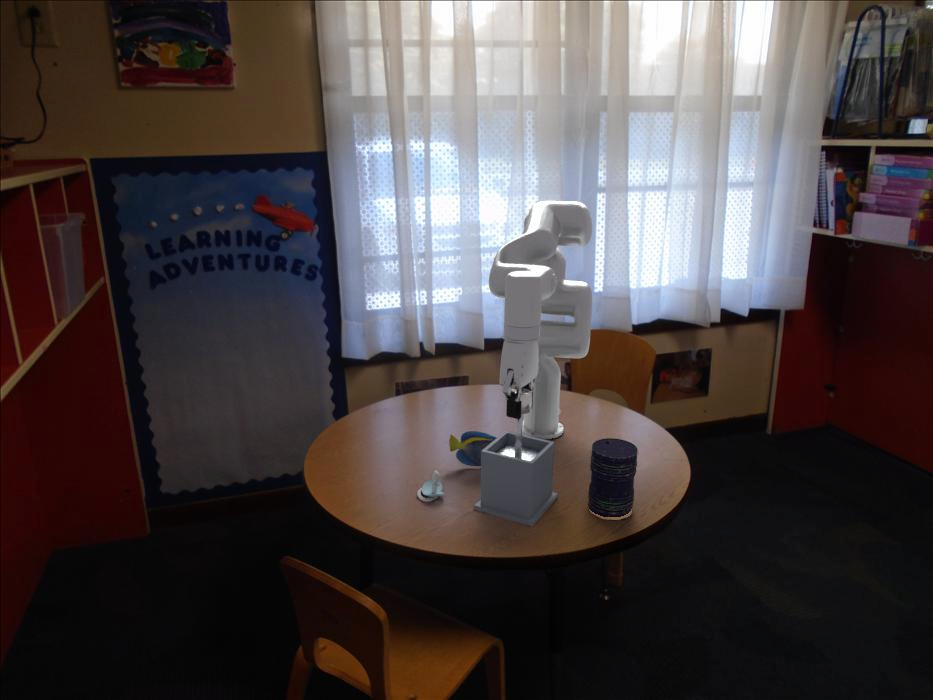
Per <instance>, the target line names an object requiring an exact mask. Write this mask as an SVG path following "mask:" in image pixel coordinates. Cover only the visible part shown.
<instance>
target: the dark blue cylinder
mask: <svg viewBox="0 0 933 700" xmlns="http://www.w3.org/2000/svg"><path fill="white" fill-rule="evenodd" d="M638 451H639V450H638V447H637V445H635V444H634V443H632V442H630V441H628V440H624V439H621V438H615V437H614V438H613V437H612V438H608V437H607V438H601V439H598V440H595V441H594V442H593V443H592V445H591V454H590V464H589V467H590V471H591V472H590V473H591V475H590V482H589V484H588V495H587V498H588V499H587V500H588V503H587V508H588V507H589V509H590V510H591V511H592V512H594V513H595V514H598V515H600V516H603V517H621V516H624V515H626V514H628V513H629V512H630V511H631V509H632V510H633V506H634V500H635V488H634V483H635V476H636V474H637V467H638V453H639V452H638Z"/></svg>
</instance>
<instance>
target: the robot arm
mask: <svg viewBox="0 0 933 700" xmlns="http://www.w3.org/2000/svg"><path fill="white" fill-rule="evenodd" d="M592 221H593V220H592V218H591V213H590V211H589V208H588V207H587V206H586V205H585V204H584V203H582V202H579V201H564V200H563V201H561V200H559V201H557V200H543V201H539V202H537V203H534V204H533V205H532V206H531V208H530V209H529V211H528V213H527V215H526V216H525V218H524V221H523V231H522V235H519V236H518V237H515V238H514V239H512V240H510V241H509V242H508V243H505V244H504V245H503V246H502V247H500V248H499V250H498V251H497V252H496V254H495V257H494V258H493V262H492V266H491V268H490V272H489V276H488V277H489V278H488V288H489V291H490V293H491V295H493V296H494V297H496V298H499V299H504V312H503V314H504V317H503V344H502V351H501V355H500V368H499V369H500V370H499V385H500V386H502V393H503V394H504V396H505V400H506V415H505V416H506V417H507V418H511V419H515V420H516V419H520V418H521V404H522V401H520V395H521V389H522V388H525V389H528V390H530V391H531V392H532V404H531V412H529V413H527V414H523V434H522V435H526V436H530V437H535V438H539V439H543V440H552V438H553V439H555V438H558V437H560V436H562V435H563V434H564V429H565V428H564V425H563V424H562V423H560V422H559V421H560V420H559V417H560V416H559V415H560V414H561V413H562V409H561V408H560V397H561V396H560V395H561V380H562V379H561V378H562V376H561V375H562V374H561V373H562V372H561V368H560V365H559V364H558V362H557V360H555V358H567V359H583V358H585V357H587V355H588V353H589V349H590V343H591V330H592V329H591V328H592V313H593V292H592V288H591V286H590V284H588V283H587V282H585V281H580V280H567V279H566V267H567V261H566V258H565V256H564V255H563V253H562V251H561V250H560V248H558V247H559V246H560V247H561V246H562V247H586V246H587V244H589V243H590V241H591V239H592V234H593V222H592ZM542 316H551V317H552V316H555V317H568V318H572V320H573V321H572V322H571V321H558V320H548V319H546V320H544V319H541V318H542ZM513 384H516V385H513ZM512 389H516V390H517V392H516V394H515V392H513V391H512ZM562 433H563V434H562Z"/></svg>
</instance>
